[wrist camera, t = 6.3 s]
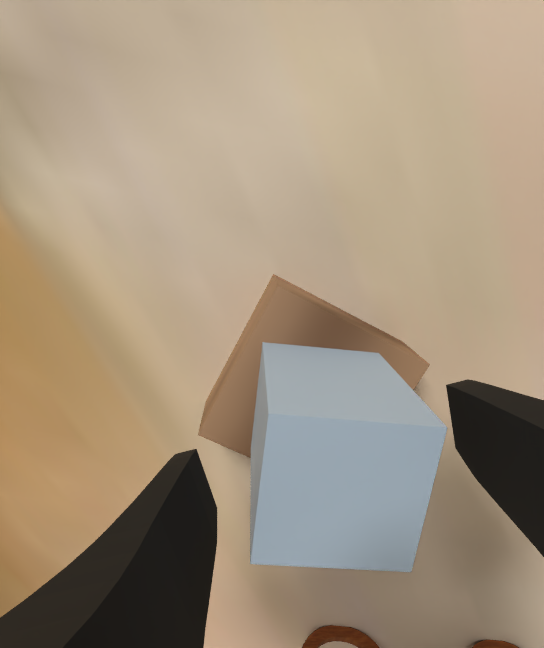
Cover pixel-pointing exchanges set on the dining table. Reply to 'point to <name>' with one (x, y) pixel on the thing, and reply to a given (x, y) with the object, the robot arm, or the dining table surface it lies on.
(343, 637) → the glasses
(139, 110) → the dining table surface
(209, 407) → the walnut slab
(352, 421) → the slate cube
